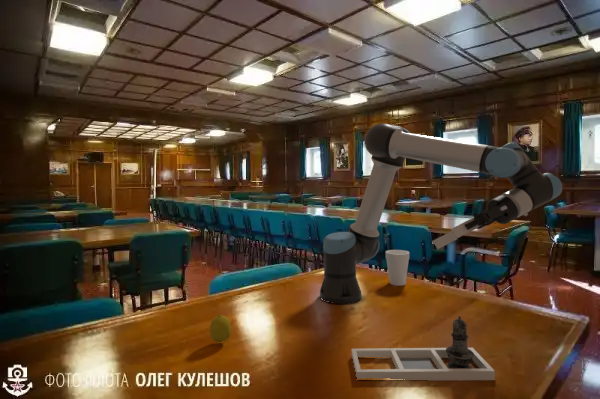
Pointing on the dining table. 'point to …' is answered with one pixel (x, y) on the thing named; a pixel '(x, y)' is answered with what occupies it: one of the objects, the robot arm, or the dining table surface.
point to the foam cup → (397, 266)
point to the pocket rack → (420, 365)
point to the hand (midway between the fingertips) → (443, 239)
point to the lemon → (220, 328)
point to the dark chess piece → (459, 347)
